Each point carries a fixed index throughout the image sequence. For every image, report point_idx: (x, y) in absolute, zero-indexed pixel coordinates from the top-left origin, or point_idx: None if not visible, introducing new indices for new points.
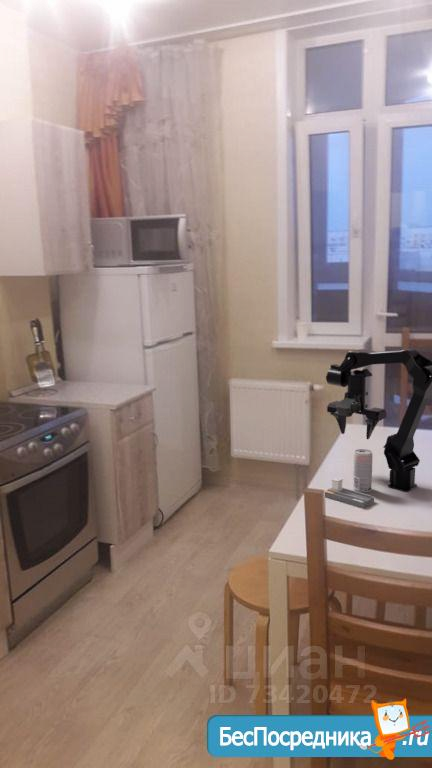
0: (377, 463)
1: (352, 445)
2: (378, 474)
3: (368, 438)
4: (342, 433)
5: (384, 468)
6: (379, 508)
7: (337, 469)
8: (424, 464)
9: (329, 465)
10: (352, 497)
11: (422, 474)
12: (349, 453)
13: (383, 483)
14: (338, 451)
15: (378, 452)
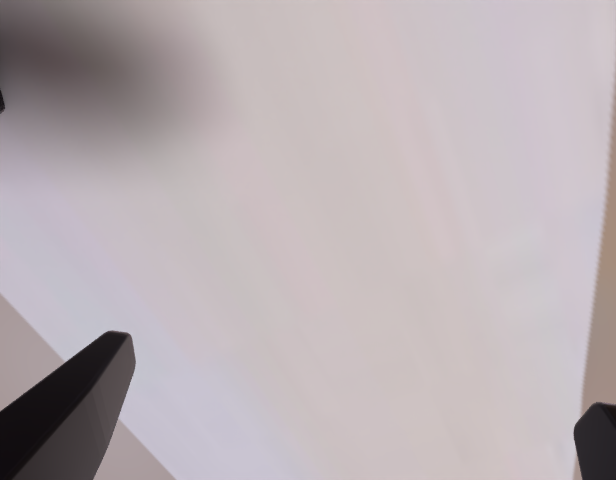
0: (290, 331)
1: (506, 476)
2: (187, 172)
3: (101, 348)
4: (606, 407)
5: (217, 282)
6: None
7: (500, 116)
8: None
9: (586, 168)
10: None
11: (10, 287)
12: (493, 396)
13: (44, 6)
14: (565, 400)
15: (354, 445)
